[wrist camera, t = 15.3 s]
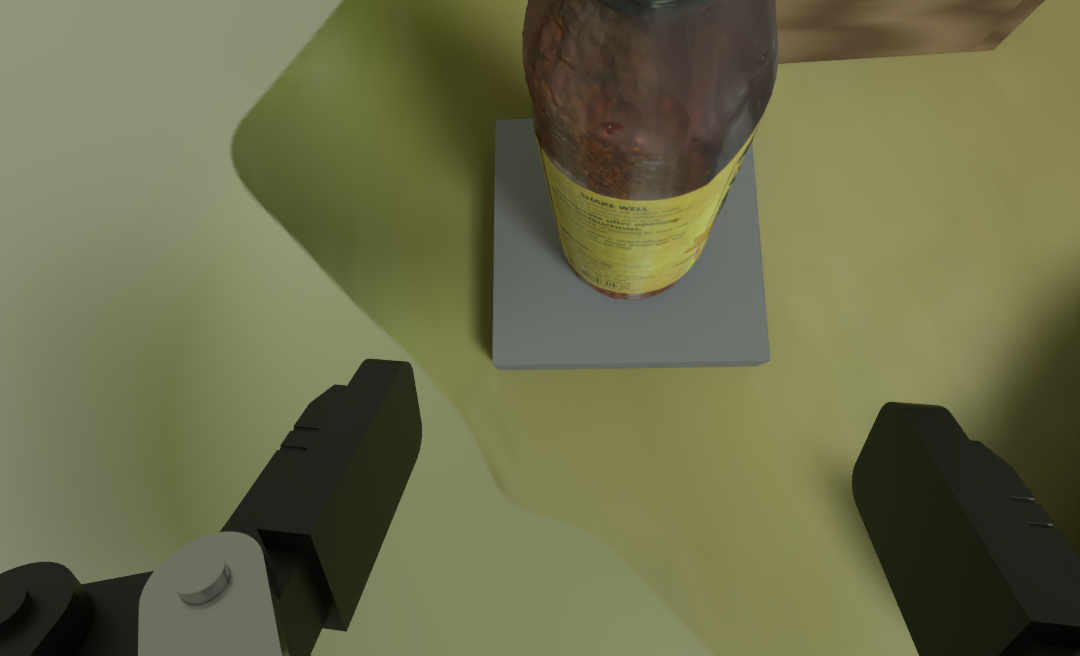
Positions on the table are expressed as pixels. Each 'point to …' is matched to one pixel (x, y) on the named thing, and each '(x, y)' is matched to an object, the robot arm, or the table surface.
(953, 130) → the table surface
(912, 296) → the table surface
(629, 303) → the slate tile
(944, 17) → the brown wooden tray
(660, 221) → the sauce bottle
